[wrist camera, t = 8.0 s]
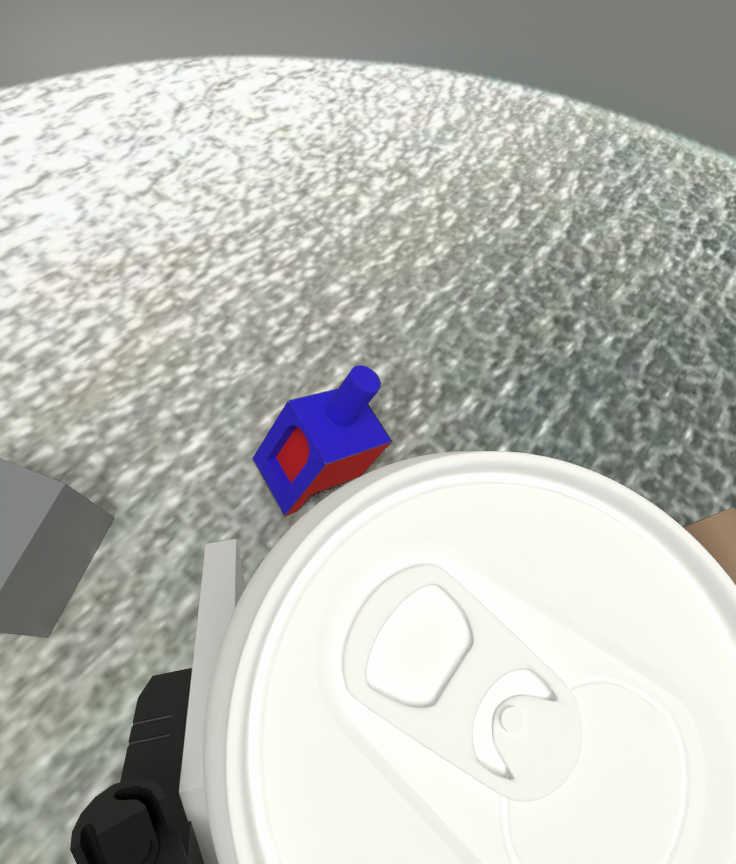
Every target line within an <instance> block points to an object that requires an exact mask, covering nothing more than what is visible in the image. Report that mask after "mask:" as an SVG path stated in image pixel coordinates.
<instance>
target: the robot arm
mask: <svg viewBox="0 0 736 864" xmlns="http://www.w3.org/2000/svg"><path fill="white" fill-rule="evenodd" d="M245 588H246V586H245V581H244V576H243V571H242V565H241V560H240V555H239V550H238V545H237V540H236V539H232V540H227V541H221V542H215V543H209V544H206V547H205V556H204V565H203V574H202V583H201V593H200V602H199V611H198V620H197V630H196V639H195V648H194V657H193V667H192V668H190V669H185V670H180V671H175V672H170V673H165V674H160V675H155V676H152V678H151V679H150V681H149V682H148V684H147V685H146V687H145V688H144V690H143V691H142V693H141V694H140V696H139V697H138V700H137V705H136V710H135V714H134V719H133V727H132V729H131V734H130V738H129V746H128V748H127V753H126V758H125V762H124V767H123V772H122V777H121V782H120V783H117V784H114V785H112V786H111V787H109V788H108V789H106V790H105V791H103V792H102V793H101V794H99V795H98V796H96V797H95V798H94V799H93V800H92V802H91V803H90V804H89V805H88V806H87V807H86V808H85V810H84V811H83V812H82V813H81V815H80V817H79V819H78V821H77V823H76V825H75V827H74V829H73V831H72V838H71V848H70V850H71V852H72V854H73V857H74V859H75V861H76V863H77V864H219V863H218V860H217V856H216V853H215V848H214V844H213V840H212V836H211V830H210V825H209V820H208V813H207V806H206V798H205V788H204V771H203V742H204V726H205V715H206V707H207V700H208V694H209V688H210V683H211V678H212V674H213V670H214V666H215V662H216V658H217V655H218V651H219V648H220V645H221V642H222V639H223V636H224V634H225V631H226V628H227V626H228V623H229V621H230V619H231V616H232V614H233V612H234V610H235V607H236V605H237V603H238V601H239V599H240V597H241V595H242V594H243V592H244V590H245Z"/></svg>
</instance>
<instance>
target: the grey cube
mask: <svg viewBox="0 0 736 864" xmlns="http://www.w3.org/2000/svg"><path fill="white" fill-rule="evenodd" d="M114 519H115V518H113V517H112V516H110V515H109V514H107V513H106V512H105V511H103V510H102V509H100V508H99V507H98V506H96V505H95V504H93V503H92V502H91V501H89V500H88V499H86V498H85V497H84V496H82V495H81V494H79V493H78V492H76V491H75V490H74V489H72V488H71V487H69V486H68V485H67V484H65V483H63V482H60V481H57V480H55V479H52V478H50V477H47V476H44V475H42V474H39V473H37V472H34V471H32V470H29V469H26V468H24V467H21V466H19V465H16V464H13V463H11V462H8V461H6V460H3V459H1V458H0V633H9V634H18V635H27V636H37V637H46V638H48V637H49V635H50V634H51V632H52V630H53V628H54V626H55V625H56V623H57V621H58V619H59V617H60V616H61V614H62V612H63V610H64V608H65V607H66V605H67V603H68V601H69V599H70V598H71V596H72V594H73V592H74V590H75V589H76V587H77V585H78V583H79V581H80V580H81V578H82V576H83V574H84V572H85V571H86V569H87V567H88V565H89V563H90V562H91V560H92V558H93V556H94V555H95V553H96V551H97V549H98V547H99V546H100V544H101V542H102V540H103V538H104V537H105V535H106V533H107V531H108V529H109V528H110V526H111V524H112V522H113V520H114Z"/></svg>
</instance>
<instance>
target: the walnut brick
mask: <svg viewBox="0 0 736 864" xmlns="http://www.w3.org/2000/svg"><path fill="white" fill-rule="evenodd" d="M683 528H684V529H685V530H686V531H687V532H689V533H690V534H691V535H692V536H693V537H694V538H695V539H696V540H697V541H698V542H699V543H700V544H701V545H702V546H703V547H704V548H705V549H706V550H707V551H708V552H709V553H710V555H711V556H712V557H713V558H714V559H715V560H716V561H717V562H718V564H719V565H720V566H721V567H722V568H723V570H724V571H725V572H726V573H727V574H728V576H729V577H730V578H731V580H732V581H733V582H734V584H735V585H736V511H735V509H734V508H730V509H727V510H725V511H722V512H720V513H717V514H715V515H712V516H709V517H707V518H704V519H702V520H699V521H696V522H694V523H691V524H689V525H686V526H683Z"/></svg>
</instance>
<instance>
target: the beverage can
mask: <svg viewBox="0 0 736 864" xmlns="http://www.w3.org/2000/svg"><path fill="white" fill-rule="evenodd" d="M203 771H204V788H205V798H206V806H207V813H208V820H209V825H210V830H211V836H212V840H213V844H214V848H215V853H216V856H217V860H218V863H219V864H736V585H735V584H734V582H733V581H732V580H731V578H730V577H729V576H728V574H727V573H726V572H725V571H724V570H723V568H722V567H721V566H720V565H719V564H718V562H717V561H716V560H715V559H714V558H713V557H712V556H711V555H710V553H709V552H708V551H707V550H706V549H705V548H704V547H703V546H702V545H701V544H700V543H699V542H698V541H697V540H696V539H695V538H694V537H693V536H692V535H691V534H690V533H689V532H687V531H686V530H685V529H684V528H683V527H682V526H681V525H679V524H678V523H677V522H676V521H675V520H674V519H672V518H671V517H670V516H669V515H667V514H666V513H665V512H663V511H662V510H661V509H659V508H658V507H657V506H655V505H654V504H652V503H651V502H649V501H648V500H646V499H645V498H643V497H642V496H640V495H639V494H637V493H635V492H634V491H632V490H630V489H628V488H627V487H625V486H623V485H621V484H619V483H617V482H615V481H613V480H611V479H609V478H607V477H605V476H603V475H601V474H598V473H596V472H593V471H591V470H588V469H586V468H583V467H580V466H577V465H574V464H571V463H568V462H564V461H561V460H557V459H553V458H549V457H544V456H539V455H533V454H526V453H517V452H504V451H482V452H475V451H463V452H446V453H437V454H430V455H424V456H419V457H414V458H410V459H406V460H403V461H399V462H396V463H393V464H390V465H387V466H384V467H381V468H379V469H376V470H374V471H372V472H369V473H367V474H365V475H363V476H361V477H359V478H357V479H355V480H353V481H351V482H349V483H348V484H346V485H344V486H342V487H341V488H339V489H338V490H336V491H334V492H333V493H331V494H330V495H328V496H327V497H326V498H324V499H323V500H321V501H320V502H319V503H318V504H316V505H315V506H314V507H312V508H311V509H310V510H309V511H308V512H307V513H305V514H304V515H303V516H302V517H301V518H300V519H299V520H298V521H297V522H296V523H295V524H294V525H293V526H292V527H291V528H290V529H289V530H288V531H287V532H286V533H285V534H284V535H283V536H282V537H281V538H280V540H279V541H278V542H277V543H276V544H275V545H274V547H273V548H272V549H271V550H270V552H269V553H268V554H267V556H266V557H265V558H264V560H263V561H262V563H261V564H260V565H259V567H258V568H257V570H256V572H255V573H254V575H253V576H252V578H251V579H250V581H249V583H248V585H247V586H246V588H245V590H244V592H243V594H242V595H241V597H240V599H239V601H238V603H237V605H236V607H235V610H234V612H233V614H232V616H231V619H230V621H229V623H228V626H227V628H226V631H225V634H224V636H223V639H222V642H221V645H220V648H219V651H218V655H217V658H216V662H215V666H214V670H213V674H212V678H211V683H210V688H209V694H208V700H207V707H206V715H205V726H204V742H203Z"/></svg>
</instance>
